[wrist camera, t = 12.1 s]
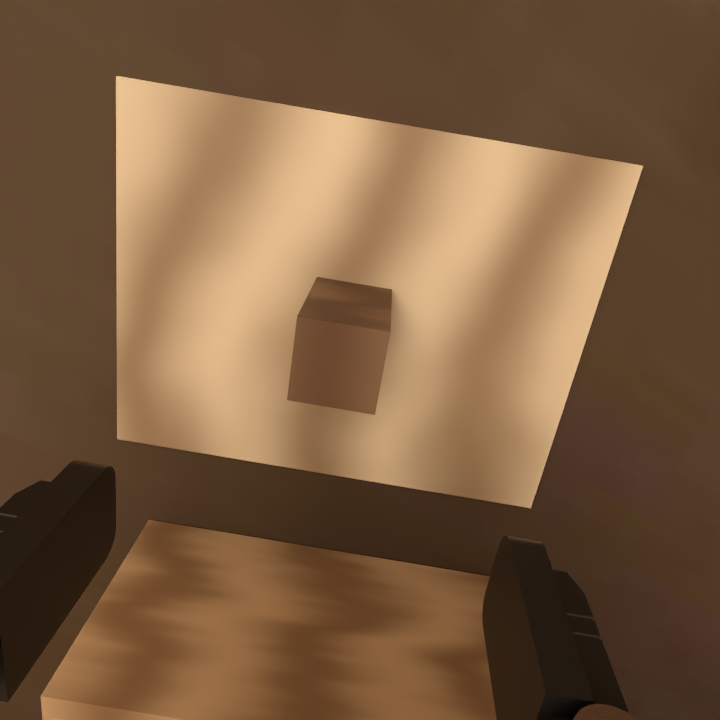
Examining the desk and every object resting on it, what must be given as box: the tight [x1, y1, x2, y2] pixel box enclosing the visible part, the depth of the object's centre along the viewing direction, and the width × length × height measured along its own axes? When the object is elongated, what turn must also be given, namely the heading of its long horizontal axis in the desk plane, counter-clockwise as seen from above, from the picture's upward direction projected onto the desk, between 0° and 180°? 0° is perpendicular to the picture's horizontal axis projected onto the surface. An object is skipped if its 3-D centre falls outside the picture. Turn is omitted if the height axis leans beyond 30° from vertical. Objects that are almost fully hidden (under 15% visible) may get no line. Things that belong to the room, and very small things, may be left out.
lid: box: [116, 76, 643, 508], centre depth 22 cm, size 19×15×6 cm
